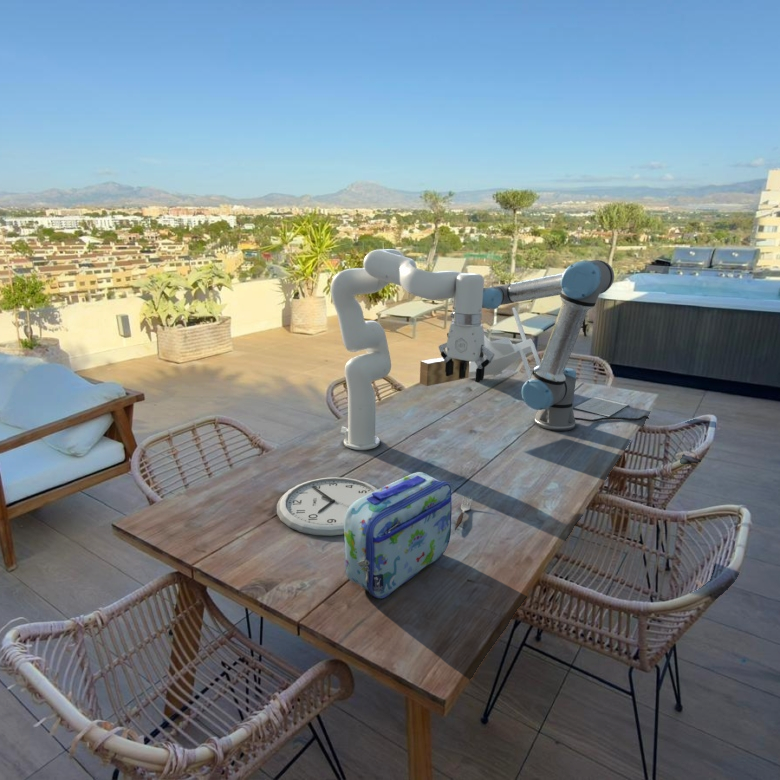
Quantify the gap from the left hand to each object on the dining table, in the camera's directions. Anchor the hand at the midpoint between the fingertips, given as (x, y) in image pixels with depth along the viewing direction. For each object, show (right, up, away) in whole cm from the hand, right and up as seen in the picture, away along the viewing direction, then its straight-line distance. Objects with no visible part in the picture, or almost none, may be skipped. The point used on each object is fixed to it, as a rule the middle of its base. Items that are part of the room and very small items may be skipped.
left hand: (463, 378), depth 151 cm
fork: (-2, -37, -12) cm, 39 cm away
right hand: (+7, +2, +64) cm, 65 cm away
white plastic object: (+33, -1, +106) cm, 111 cm away
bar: (+1, 0, +61) cm, 61 cm away
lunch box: (-19, -44, -35) cm, 59 cm away
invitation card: (+70, -11, +76) cm, 104 cm away
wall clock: (-37, -35, -8) cm, 52 cm away
